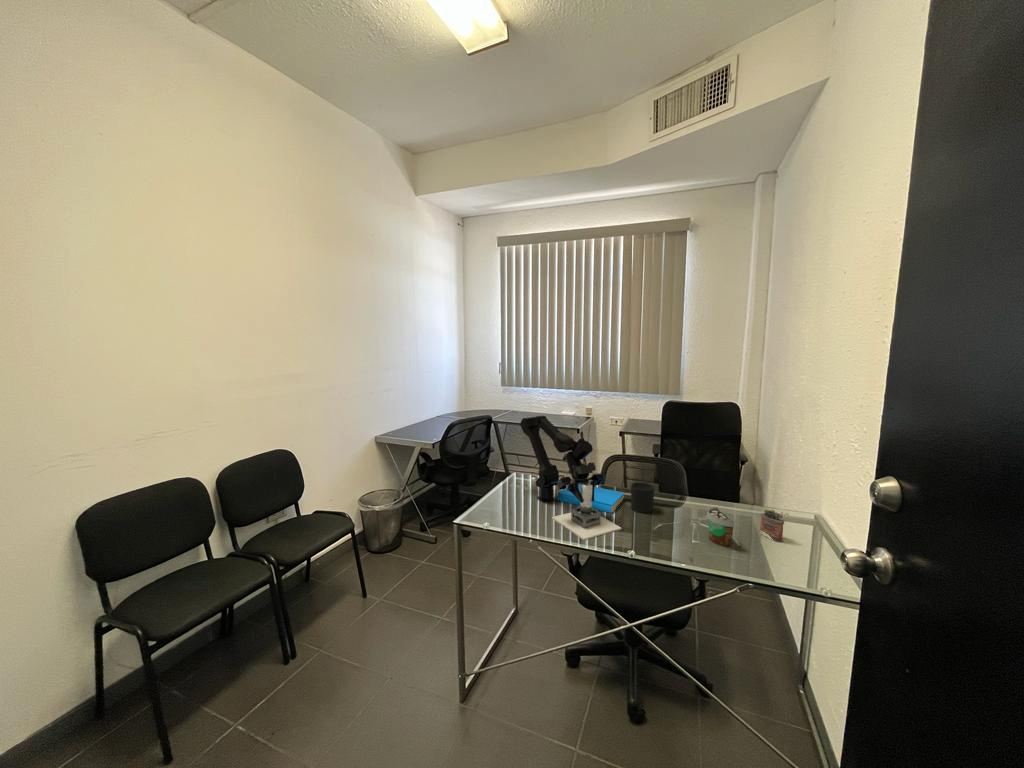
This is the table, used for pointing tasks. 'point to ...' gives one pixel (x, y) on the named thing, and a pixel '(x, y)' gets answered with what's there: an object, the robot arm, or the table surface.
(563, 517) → the tile
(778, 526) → the lighter
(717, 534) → the food container
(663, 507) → the table surface
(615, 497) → the book
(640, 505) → the pen holder
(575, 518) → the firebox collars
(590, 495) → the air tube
